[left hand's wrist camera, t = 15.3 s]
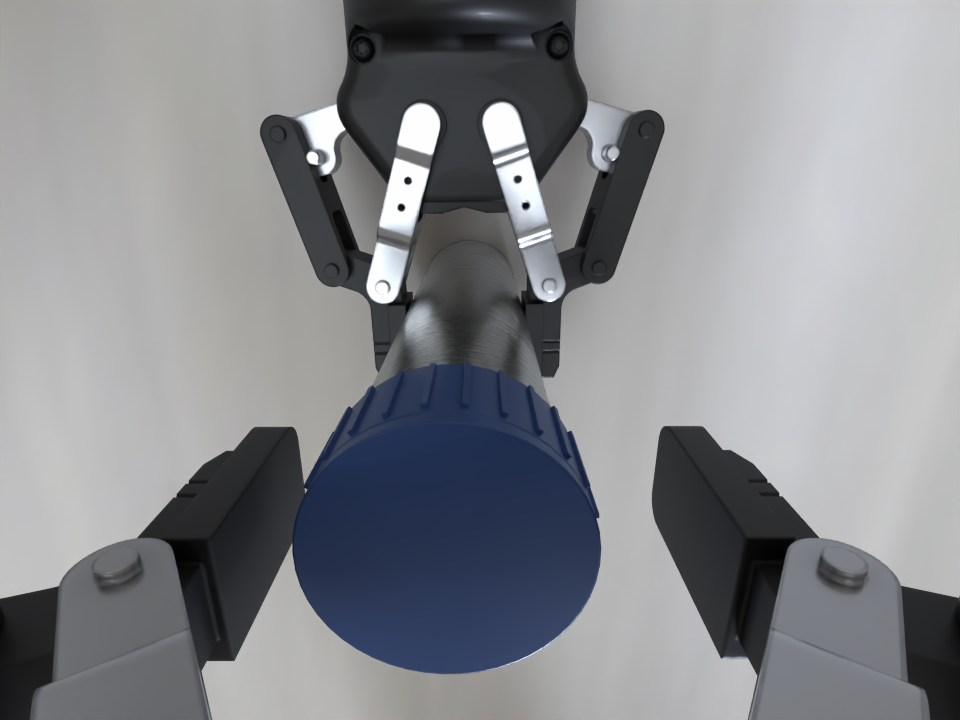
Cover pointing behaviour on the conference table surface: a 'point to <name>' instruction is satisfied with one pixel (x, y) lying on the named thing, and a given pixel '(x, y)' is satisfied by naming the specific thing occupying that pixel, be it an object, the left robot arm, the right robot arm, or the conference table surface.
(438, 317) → the metal bottle
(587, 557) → the lid
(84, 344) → the conference table surface
